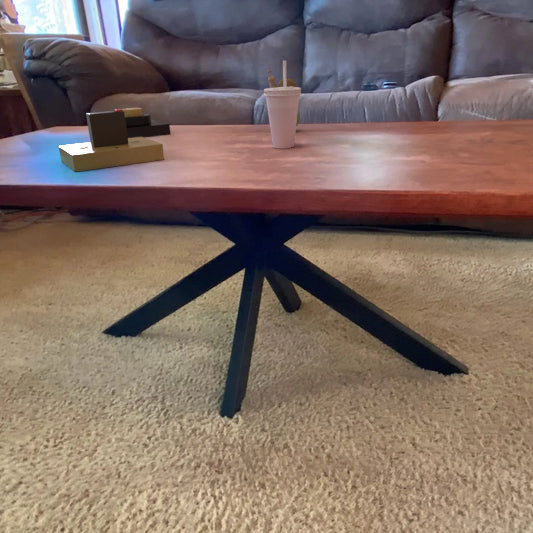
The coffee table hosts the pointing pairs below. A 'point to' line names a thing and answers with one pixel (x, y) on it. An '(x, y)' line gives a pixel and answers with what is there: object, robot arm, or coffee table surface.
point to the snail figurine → (289, 84)
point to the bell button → (132, 112)
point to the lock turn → (107, 128)
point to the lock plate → (110, 154)
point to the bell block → (145, 127)
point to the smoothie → (283, 112)
